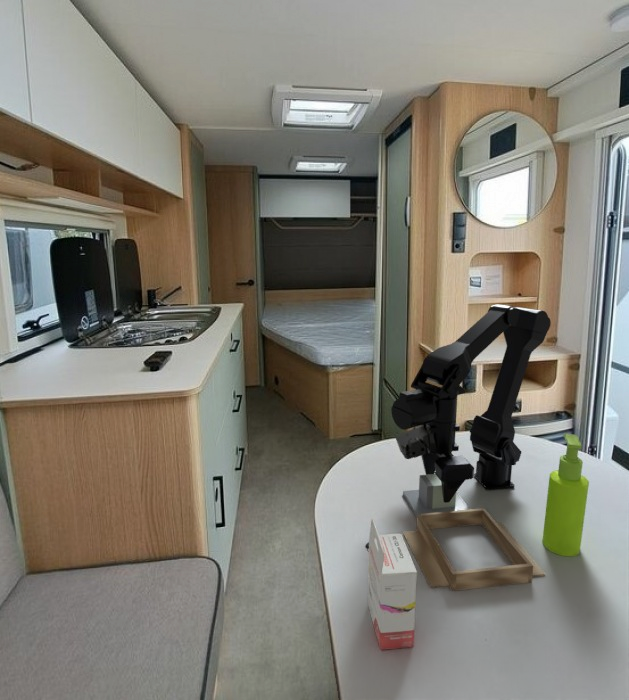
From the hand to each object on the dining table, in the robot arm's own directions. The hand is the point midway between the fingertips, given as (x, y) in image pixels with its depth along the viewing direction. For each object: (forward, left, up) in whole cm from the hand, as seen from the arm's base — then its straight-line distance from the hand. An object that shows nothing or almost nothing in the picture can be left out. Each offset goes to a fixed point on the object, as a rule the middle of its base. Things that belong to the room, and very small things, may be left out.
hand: (437, 489), depth 94 cm
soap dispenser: (-17, +15, -4) cm, 23 cm away
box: (0, 0, -3) cm, 3 cm away
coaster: (0, 0, -4) cm, 4 cm away
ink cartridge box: (+18, +28, -4) cm, 33 cm away
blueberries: (+15, +12, -4) cm, 19 cm away
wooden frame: (0, +15, -4) cm, 15 cm away
